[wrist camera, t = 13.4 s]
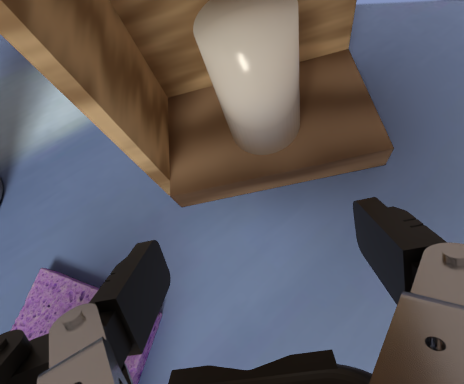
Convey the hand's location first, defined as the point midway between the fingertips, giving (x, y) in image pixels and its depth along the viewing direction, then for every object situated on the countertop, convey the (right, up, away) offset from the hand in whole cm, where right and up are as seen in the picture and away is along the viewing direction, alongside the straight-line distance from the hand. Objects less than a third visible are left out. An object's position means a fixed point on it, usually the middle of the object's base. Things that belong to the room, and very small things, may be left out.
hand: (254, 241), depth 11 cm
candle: (+2, +8, +13) cm, 16 cm away
